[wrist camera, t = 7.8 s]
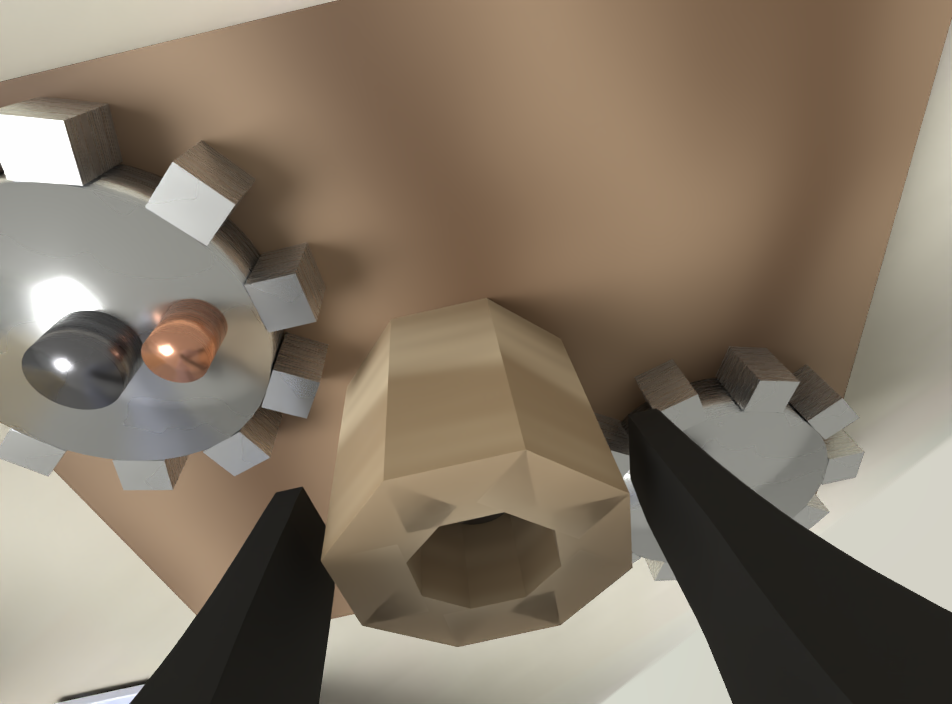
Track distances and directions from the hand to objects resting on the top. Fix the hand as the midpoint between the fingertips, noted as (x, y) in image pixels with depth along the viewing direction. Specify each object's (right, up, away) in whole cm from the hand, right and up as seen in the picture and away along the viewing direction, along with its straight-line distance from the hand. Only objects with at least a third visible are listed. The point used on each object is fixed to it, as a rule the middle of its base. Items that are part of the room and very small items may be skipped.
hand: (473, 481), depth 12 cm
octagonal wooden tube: (0, +2, +2) cm, 3 cm away
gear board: (-1, +2, +4) cm, 4 cm away
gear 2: (+7, -1, +5) cm, 8 cm away
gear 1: (-8, +4, 0) cm, 8 cm away
